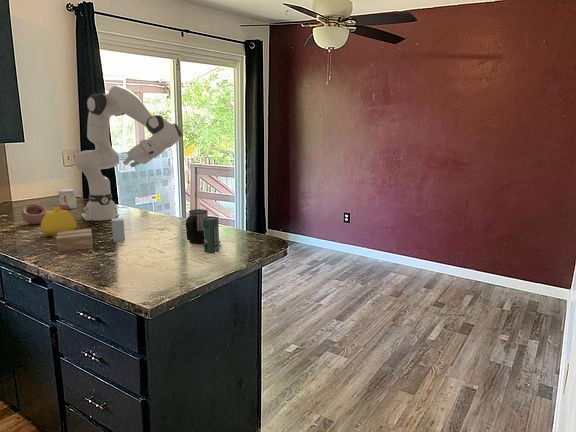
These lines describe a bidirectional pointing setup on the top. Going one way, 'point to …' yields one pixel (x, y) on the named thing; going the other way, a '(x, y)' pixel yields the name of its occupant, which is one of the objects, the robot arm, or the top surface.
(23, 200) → the top surface
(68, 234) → the maple block
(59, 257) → the top surface
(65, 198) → the ink box
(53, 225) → the teapot
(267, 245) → the top surface
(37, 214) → the mortar and pestle
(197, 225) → the milk frother
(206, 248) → the can
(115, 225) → the gray block
